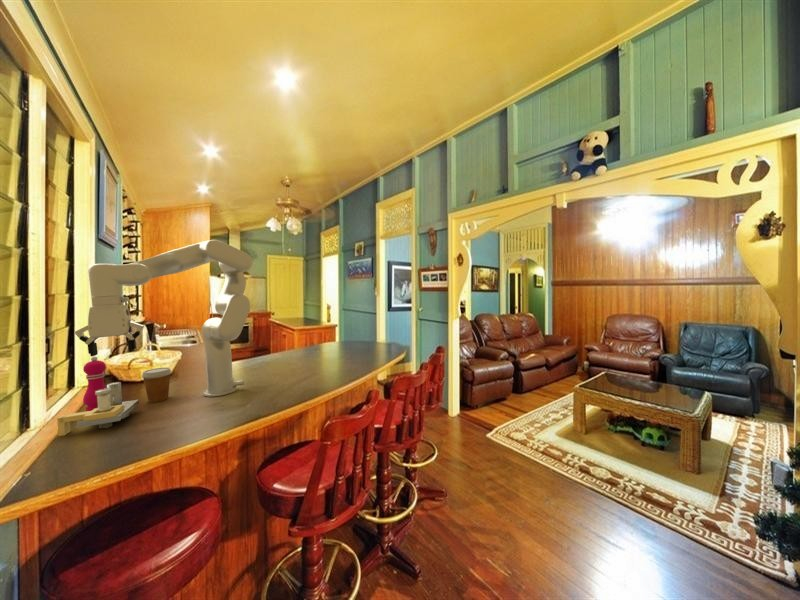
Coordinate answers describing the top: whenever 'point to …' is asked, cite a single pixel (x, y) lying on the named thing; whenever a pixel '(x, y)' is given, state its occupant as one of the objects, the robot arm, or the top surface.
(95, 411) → the bracket
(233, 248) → the robot arm
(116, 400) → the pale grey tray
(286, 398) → the top surface
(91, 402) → the pepper mill
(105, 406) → the steel pin
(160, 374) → the disposable coffee cup
